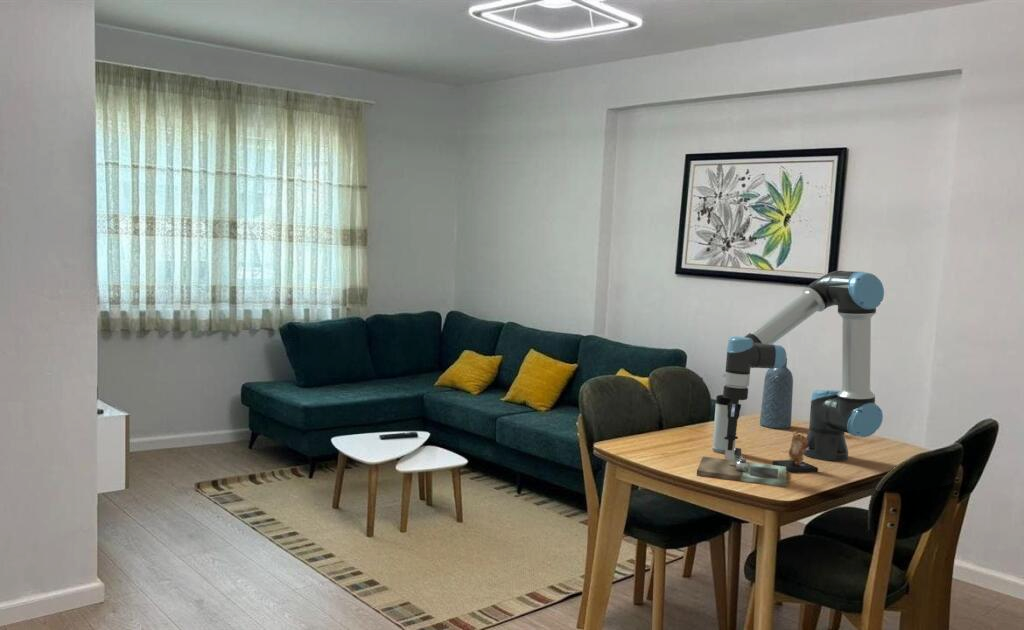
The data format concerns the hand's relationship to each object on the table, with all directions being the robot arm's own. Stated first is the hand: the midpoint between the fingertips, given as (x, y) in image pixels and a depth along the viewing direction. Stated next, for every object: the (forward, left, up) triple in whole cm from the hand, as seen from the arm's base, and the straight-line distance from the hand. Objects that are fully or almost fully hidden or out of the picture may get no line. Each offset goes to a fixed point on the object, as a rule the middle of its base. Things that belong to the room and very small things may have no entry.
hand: (729, 459), depth 268 cm
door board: (-4, +4, -3) cm, 6 cm away
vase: (-13, -83, -3) cm, 85 cm away
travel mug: (+4, -24, -3) cm, 25 cm away
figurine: (-20, -12, -3) cm, 24 cm away
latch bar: (-3, +2, -1) cm, 4 cm away
